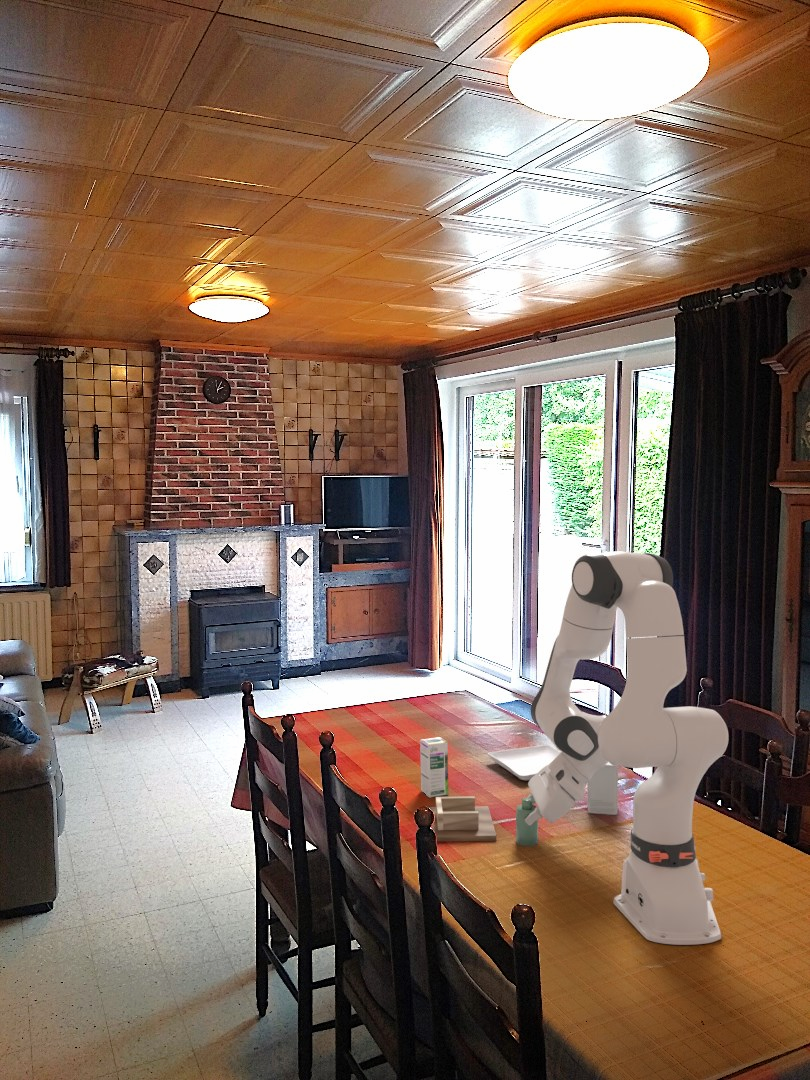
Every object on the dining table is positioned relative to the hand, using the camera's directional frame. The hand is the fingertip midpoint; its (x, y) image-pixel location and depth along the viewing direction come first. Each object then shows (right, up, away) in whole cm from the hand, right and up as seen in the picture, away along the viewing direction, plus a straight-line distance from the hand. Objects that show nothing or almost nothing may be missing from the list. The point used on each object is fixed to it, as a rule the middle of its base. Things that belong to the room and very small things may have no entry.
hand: (524, 817), depth 200 cm
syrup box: (-20, -4, +32) cm, 38 cm away
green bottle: (+1, -6, 0) cm, 6 cm away
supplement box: (+23, -4, +20) cm, 30 cm away
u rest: (-14, -5, +10) cm, 18 cm away
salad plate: (+10, -3, +50) cm, 52 cm away
